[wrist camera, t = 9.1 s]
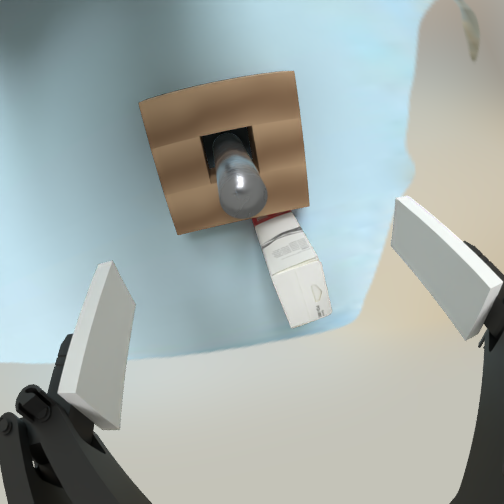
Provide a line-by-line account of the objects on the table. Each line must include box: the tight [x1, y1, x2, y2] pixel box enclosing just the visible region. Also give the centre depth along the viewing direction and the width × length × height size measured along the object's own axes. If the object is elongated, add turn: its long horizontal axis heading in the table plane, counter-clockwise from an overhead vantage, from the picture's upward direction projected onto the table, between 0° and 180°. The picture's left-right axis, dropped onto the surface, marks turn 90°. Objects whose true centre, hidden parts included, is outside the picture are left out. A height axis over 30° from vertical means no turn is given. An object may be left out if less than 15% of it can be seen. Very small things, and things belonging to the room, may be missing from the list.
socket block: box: [139, 71, 309, 235], centre depth 29 cm, size 14×14×5 cm
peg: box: [213, 133, 268, 219], centre depth 25 cm, size 3×3×14 cm
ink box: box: [252, 210, 332, 328], centre depth 34 cm, size 9×5×12 cm, turn 20°
